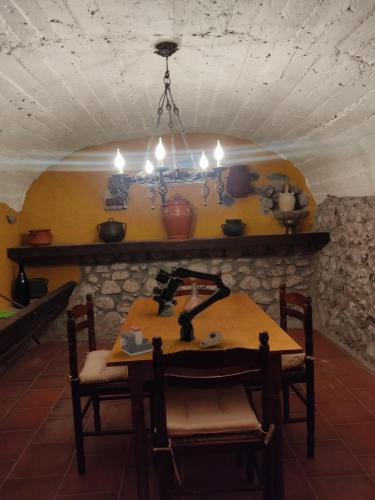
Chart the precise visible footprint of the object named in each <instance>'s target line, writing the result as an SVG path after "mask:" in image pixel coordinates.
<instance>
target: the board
mask: <svg viewBox="0 0 375 500" xmlns="http://www.w3.org/2000/svg"><path fill="white" fill-rule="evenodd" d="M152 350H153V349H150V350H145V351H141V352H137V353H133V354H130V353H129V352H127V351H125V350H123V349H122V348H121V351H122V352H124V353H125V354H126V355H127V354H128V355H129V356H131V357H132V356H137V355H141V354H146V353H150V352H153V351H152Z"/></svg>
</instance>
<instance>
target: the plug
mask: <svg viewBox="0 0 375 500" xmlns="http://www.w3.org/2000/svg"><path fill="white" fill-rule="evenodd" d="M128 327H129V329H128V330H129V334H131V335H133V336H135V345H140V344H142V338H143V331H142V328H141V327H140V326H137V325H133V326H128ZM120 345H121V346H122V345H123V346H124V345H128V339H127V338H124V339H122V338H120Z"/></svg>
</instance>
